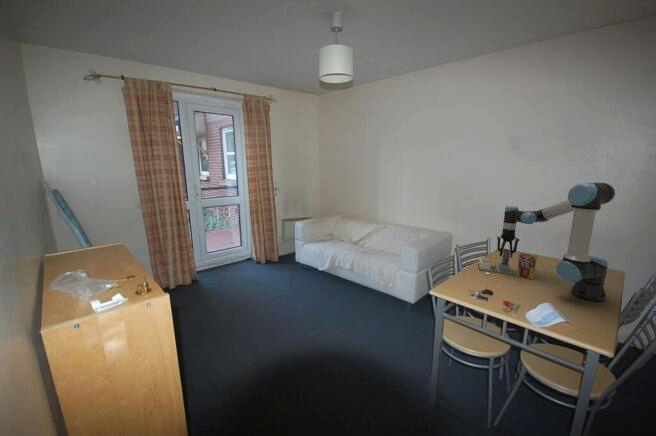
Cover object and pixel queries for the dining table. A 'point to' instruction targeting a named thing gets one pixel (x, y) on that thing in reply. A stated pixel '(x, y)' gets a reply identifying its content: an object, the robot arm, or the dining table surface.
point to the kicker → (505, 260)
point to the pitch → (487, 267)
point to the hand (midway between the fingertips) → (505, 261)
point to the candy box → (526, 265)
